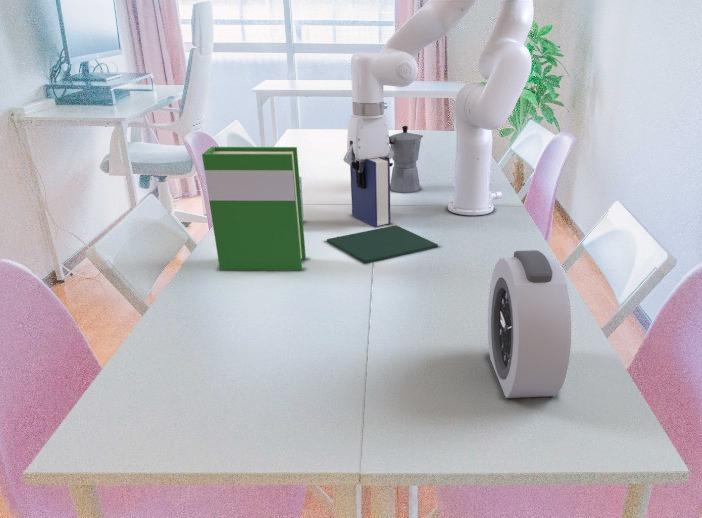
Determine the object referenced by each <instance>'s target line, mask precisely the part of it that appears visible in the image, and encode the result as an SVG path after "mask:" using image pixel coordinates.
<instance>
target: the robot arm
mask: <svg viewBox="0 0 702 518" xmlns="http://www.w3.org/2000/svg"><path fill="white" fill-rule="evenodd" d="M477 1H478V0H427V1H426V2H425V3H424V4H423V6H421V7H420V8H419V9H418V10H416V11H415V12H414V13H413V14H412V15H411V17H409V18H408V19H407V20H406V21H405V22H403V23H402V25H400V27H398V28H397V29H396V30H395V31H394V33H393V34H392V36H390V38H389V39H388V40H387V42H385V44H384V45H383V47H382V48H381V49H380V51H379V52H376V51H375V52H374V51H358V52H355V53H353V54H352V55H351V58H350V74H351V101H352V103H351V104H352V115H349V118H348V126H347V137H346V142H347V143H346V153H345V154H344V157H343V159H342V160H343V162H344V163H346V164H347V165H349V167H350V166H351V167H352V168H353V169H354V171H356V184H357V187H359V188H361V189H365V188H366V185H365V173H364V172H363V169H364V163H365V159H375V158H379V157H382V158H385V159H388V160H390V161H391V159H392V157H393V156H394V152H393V150H392V149H391V146H390V144H389V136H390V133H389V125H388V119H387V115H386V114H384V113H385V110H386V109H388V107H389V106H388V103H387V102H385V101H384V87H385V86H388V87H397V88H404V87H408V86H410V85H411V84H413V83H414V82H415V81H416V79H417V76H418V74H419V64H418V61H417V60H416V59H415V57H416V56H417V55H418V54H419V53H420V52H422V50H424V48H426V47H427V46H429V45H430V44H433V43H434V42H437V41H439V40H442V39H443V38H445V37H447V36H448V35H450V34H451V33H452V32H453V31H454V29H455V28H456V27H457V26H458V24H459V23H460V22H461V21H462V20H463V18H464V17H465V16H466V14H468V12H469V11H470V10H471V9H472V7H473V6H474V5H475V3H477ZM499 3H500V4H499V12H498V15H497V18H496V21H495V23H494V25H493V28H492V30H491V32H490V34H489V37H487V41H486V43H485V45H484V47H483V49H482V51H481V53H480V55H479V58H478V63H477V69H478V72H479V74H480V75H481V76H482V78H483V79H485V80H486V82H485V84H483V83H478V82H471V83H468V84H465V85H464V86H463V87H461V88H460V90H459V91H458V92H457V94H456V96H455V99H454V107H453V108H454V109H453V110H454V120H455V158H454V159H455V160H454V182H453V183H454V184H453V200H452V201H450V202H449V203H448V204H447V210H448V211H450V213H453V214H457V215H463V216H482V215H483V216H484V215H487V214H490V213H492V212H493V211H494V207H495V206H494V204H493V203H492V202H493V201H494V200H499V199H502V197H503V194H502V192H501V191H495V192H493V191H491V190H490V185H491V184H490V183H491V182H490V181H491V169H492V168H491V167H492V152H493V131H494V130H497V129H499V128H501V127H502V126H503V125H504V124H505V123H506V122H507V121H508V119H509V118H510V116H511V114H512V112H513V110H514V108H515V106H516V104H517V103H518V101H519V99H520V97H521V95H522V93H523V91H524V88H525V86H526V84H527V82H528V80H529V78H530V76H531V71H532V66H533V65H532V64H533V62H532V61H533V60H532V55H531V52H530V50H529V49H528V47H527V46H526V45H525V43H526V40H527V38H528V36H529V33H530V31H531V28H532V25H533V21H534V13H535V8H534V0H499ZM352 158H355V162H354V161H353V160H352Z"/></svg>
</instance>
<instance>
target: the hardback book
mask: <svg viewBox="0 0 702 518" xmlns="http://www.w3.org/2000/svg"><path fill="white" fill-rule="evenodd" d="M201 157H202V164H203V169H204V176H205V182H206V189H207V190H206V191H207V195H208V202H209V208H210V209H209V210H210V215H211V221H212V226H213V235H214V240H215V247H216V248H215V249H216V254H217V260H218V266H219V267H218V268H219V271H302V270H303V263H302V261H306V260H307V254H306V242H305V231H304V222H303V217H304V216H303V217H302V205H301V192H300V180H299V177H300V169H299V159H298V158H299V157H298V147H297V146H210V147H209V148H208V149H207V150H205V151H204V152H203V153H202V154H201Z"/></svg>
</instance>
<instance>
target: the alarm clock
mask: <svg viewBox="0 0 702 518" xmlns="http://www.w3.org/2000/svg"><path fill="white" fill-rule="evenodd" d="M568 289H569V288H568V284H567V280H566V276H565V273H564V270H563V268H562V266H561V265H560V262H559V260H557V259H555V258H554V257H553V256H546V255H545V254H544V253H543V252H541V251H539V250H535V249H533V250H515V251H514V252H513V257H511V256H510V257H501V258H499V259H498V260H497V262H496V263H495V265H494V268H493V271H492V275H491V280H490V284H489V293H488V302H487V303H488V305H487V307H488V308H487V340H488V353H489V354H488V355H489V359H490V362H491V364H492V367H493V369H494V372H495V374H496V377H497V380H498V381H499V385H500V387H501V389H502V392H503V394H504V397H505V398H506V399H519V398H542V397H543V398H544V397H546V398H547V397H555V396H557V394H558V393H559V392H560V391H561V390H562V388H563V386H564V383H565V379H566V377H567V373H568V369H569V363H570V357H571V348H572V347H571V346H572V313H571V301H570V295H569V290H568Z"/></svg>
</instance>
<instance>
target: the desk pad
mask: <svg viewBox="0 0 702 518" xmlns="http://www.w3.org/2000/svg"><path fill="white" fill-rule="evenodd" d="M326 242H327V243H329V244H331V245H332V246H334V247H336V248H337V249H339V250H341V251H343V252H345V253H346V254H348V255H350V256H352V257H353V258H355V259H357V260H358V261H361V262H362V263H364V264H368V263H373V262H374V263H375V262H378V261H383V260H387V259H390V258H395V257H396V258H397V257H400V256H403V255H408V254H413V253H417V252H422V251H426V250H430V249H431V250H432V249H435V248H438V246H439V244H437V243H436V242H433V241H431V240H429V239H427V238H425V237H422V236H421V235H418V234H416V233H415V232H412V231H409V230H407V229H405V228H403V227H401V226H399V225H396V224H395V225H390V226H385V227H384V226H383V227H380V228H375V229H371V230H366V231H365V230H364V231H360V232H356V233H350V234H346V235H341V236H335V237H330V238H327V239H326Z"/></svg>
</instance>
